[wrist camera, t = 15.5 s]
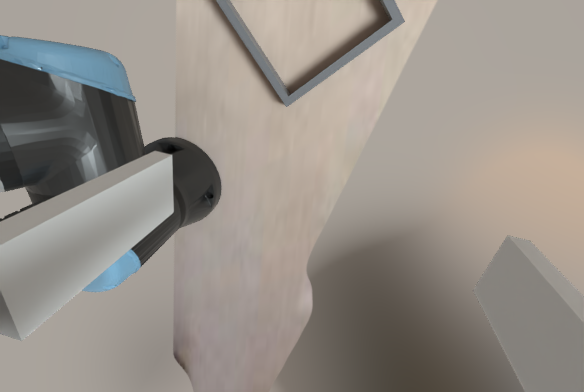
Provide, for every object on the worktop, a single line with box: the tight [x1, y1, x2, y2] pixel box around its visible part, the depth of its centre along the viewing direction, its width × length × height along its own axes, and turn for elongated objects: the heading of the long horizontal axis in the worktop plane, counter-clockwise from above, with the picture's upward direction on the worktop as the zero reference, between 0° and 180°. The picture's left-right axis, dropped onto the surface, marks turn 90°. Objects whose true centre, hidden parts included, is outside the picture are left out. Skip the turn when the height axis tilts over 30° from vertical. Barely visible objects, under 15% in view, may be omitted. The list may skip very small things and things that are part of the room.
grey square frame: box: [216, 0, 405, 107], centre depth 34 cm, size 17×17×2 cm
